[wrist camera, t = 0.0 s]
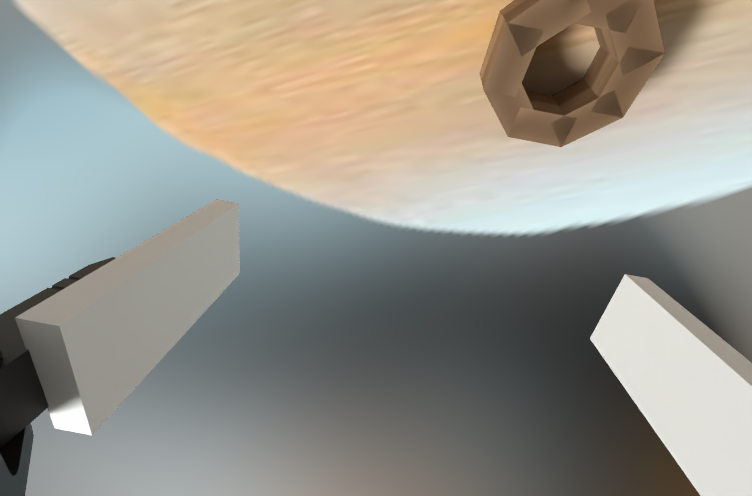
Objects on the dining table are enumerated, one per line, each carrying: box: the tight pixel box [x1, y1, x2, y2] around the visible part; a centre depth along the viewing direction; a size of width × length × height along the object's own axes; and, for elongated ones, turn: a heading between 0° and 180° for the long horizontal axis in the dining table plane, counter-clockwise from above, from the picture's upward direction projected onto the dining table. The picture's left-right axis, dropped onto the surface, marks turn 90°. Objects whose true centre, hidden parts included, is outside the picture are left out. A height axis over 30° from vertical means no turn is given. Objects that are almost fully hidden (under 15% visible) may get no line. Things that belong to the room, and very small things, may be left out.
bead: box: [480, 0, 665, 147], centre depth 29 cm, size 12×12×4 cm
